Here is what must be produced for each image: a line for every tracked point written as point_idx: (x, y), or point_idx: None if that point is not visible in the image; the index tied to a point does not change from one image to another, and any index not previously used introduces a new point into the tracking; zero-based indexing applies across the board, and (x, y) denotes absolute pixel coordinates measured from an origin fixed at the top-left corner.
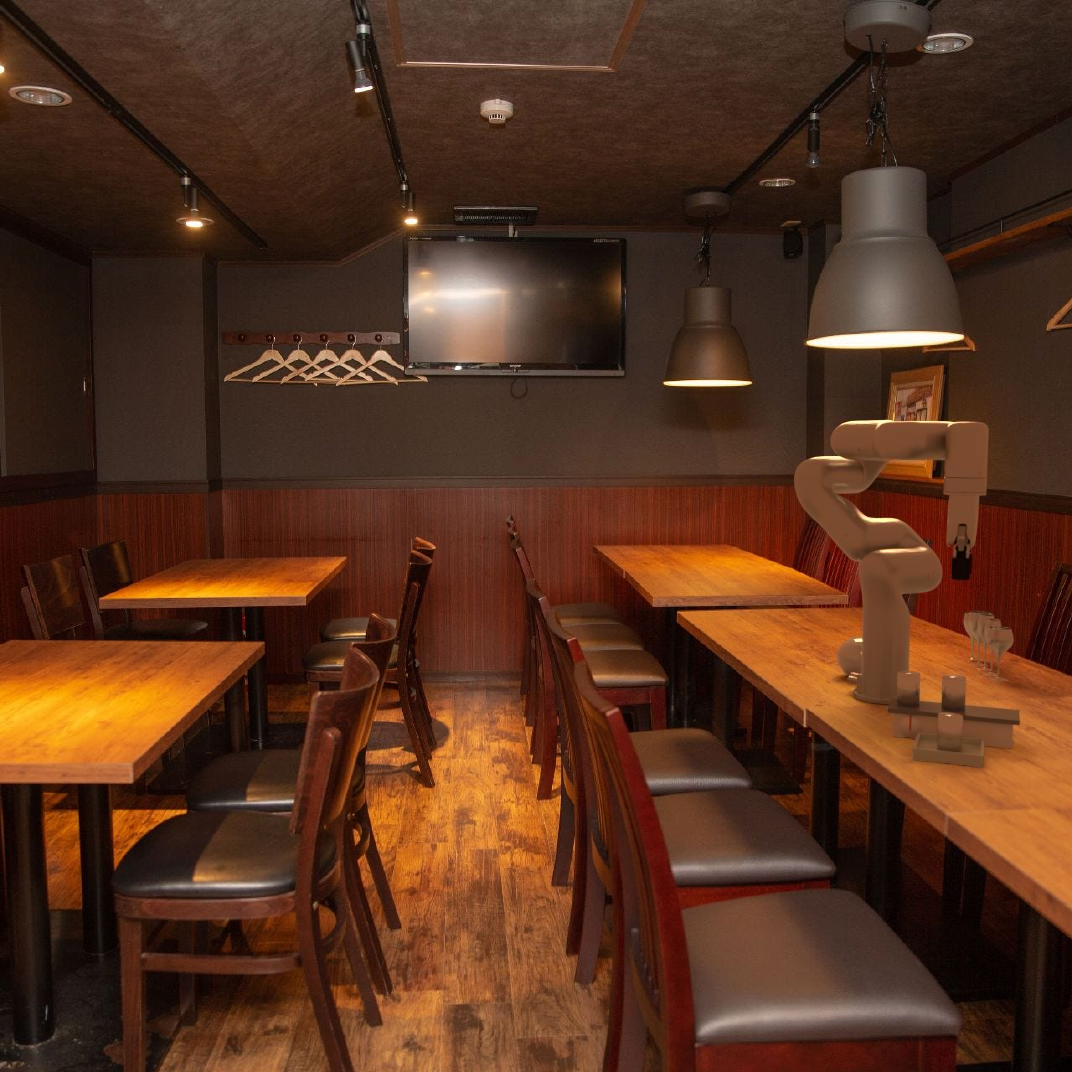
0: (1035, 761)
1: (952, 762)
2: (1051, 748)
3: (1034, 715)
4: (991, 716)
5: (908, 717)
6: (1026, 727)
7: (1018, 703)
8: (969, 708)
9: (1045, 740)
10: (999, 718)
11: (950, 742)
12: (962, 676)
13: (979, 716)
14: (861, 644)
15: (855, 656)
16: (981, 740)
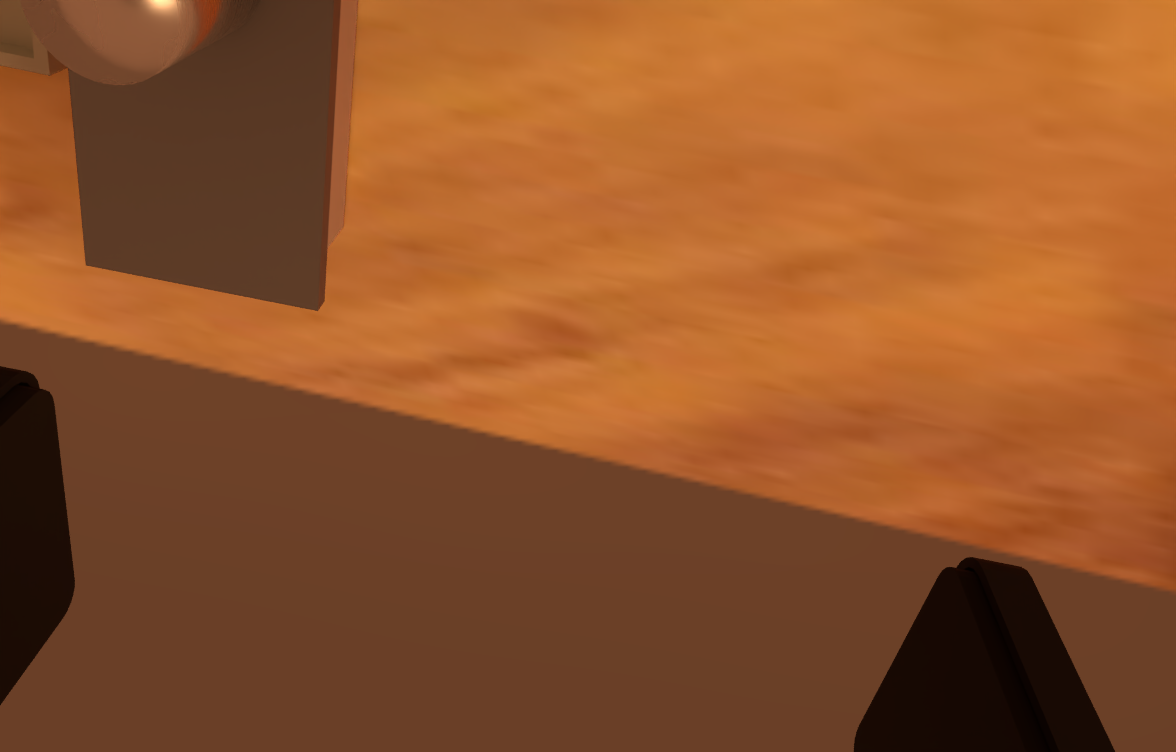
0: (16, 238)
1: None
2: (249, 341)
3: (804, 407)
4: (113, 151)
5: None
6: (573, 328)
7: (1041, 397)
8: (250, 69)
9: (370, 349)
10: (87, 182)
11: None
12: (130, 65)
13: (79, 88)
14: None
15: None
16: (20, 56)
